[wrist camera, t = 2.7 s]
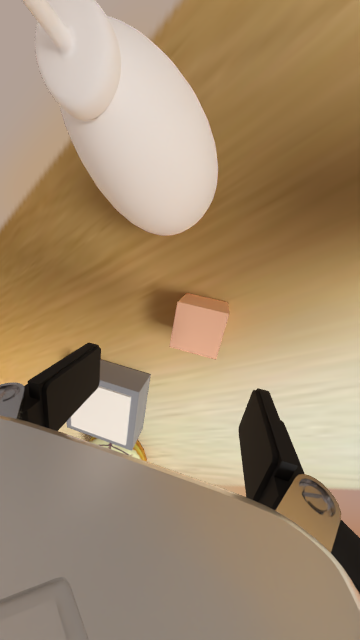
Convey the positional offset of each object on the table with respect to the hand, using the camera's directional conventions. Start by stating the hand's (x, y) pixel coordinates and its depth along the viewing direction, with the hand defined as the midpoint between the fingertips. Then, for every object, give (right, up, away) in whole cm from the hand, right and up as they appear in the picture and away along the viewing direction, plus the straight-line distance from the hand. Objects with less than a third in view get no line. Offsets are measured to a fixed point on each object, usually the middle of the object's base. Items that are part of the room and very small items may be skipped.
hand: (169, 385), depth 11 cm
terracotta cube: (+3, +4, +12) cm, 13 cm away
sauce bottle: (+1, +17, +9) cm, 19 cm away
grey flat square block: (-10, -8, +19) cm, 23 cm away
